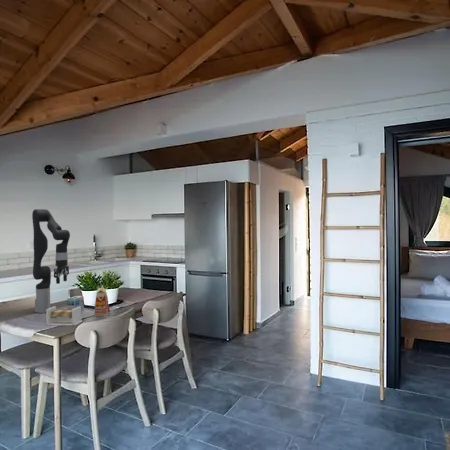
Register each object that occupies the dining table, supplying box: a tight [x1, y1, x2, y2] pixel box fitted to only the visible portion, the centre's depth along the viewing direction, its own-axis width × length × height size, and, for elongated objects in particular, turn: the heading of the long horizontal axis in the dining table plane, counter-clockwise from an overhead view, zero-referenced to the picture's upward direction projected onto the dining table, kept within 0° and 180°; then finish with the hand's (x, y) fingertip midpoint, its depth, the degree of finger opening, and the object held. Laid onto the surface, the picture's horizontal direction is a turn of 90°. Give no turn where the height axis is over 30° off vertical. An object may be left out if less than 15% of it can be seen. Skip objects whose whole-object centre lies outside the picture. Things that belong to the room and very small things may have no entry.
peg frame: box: [45, 305, 83, 326], centre depth 228 cm, size 20×9×10 cm, turn 84°
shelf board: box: [52, 309, 72, 317], centre depth 228 cm, size 14×5×3 cm, turn 84°
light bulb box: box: [66, 295, 85, 312], centre depth 258 cm, size 11×7×11 cm, turn 168°
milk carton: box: [93, 285, 111, 317], centre depth 249 cm, size 9×9×20 cm
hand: (61, 282), depth 243 cm, fingers open, 8 cm apart
